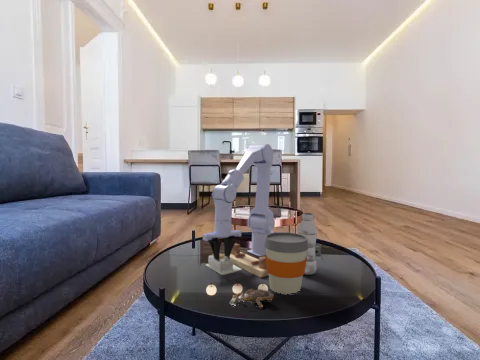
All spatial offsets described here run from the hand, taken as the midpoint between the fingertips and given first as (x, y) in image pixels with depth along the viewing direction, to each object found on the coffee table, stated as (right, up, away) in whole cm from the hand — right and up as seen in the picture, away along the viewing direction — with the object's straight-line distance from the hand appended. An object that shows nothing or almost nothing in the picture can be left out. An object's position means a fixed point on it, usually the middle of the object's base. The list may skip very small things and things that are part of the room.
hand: (221, 258), depth 100 cm
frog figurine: (+10, -5, -24) cm, 26 cm away
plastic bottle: (+28, -4, -4) cm, 29 cm away
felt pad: (0, -3, +1) cm, 3 cm away
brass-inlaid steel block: (-1, -3, 0) cm, 3 cm away
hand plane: (+9, -3, +3) cm, 10 cm away
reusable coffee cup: (+19, -5, -15) cm, 25 cm away
